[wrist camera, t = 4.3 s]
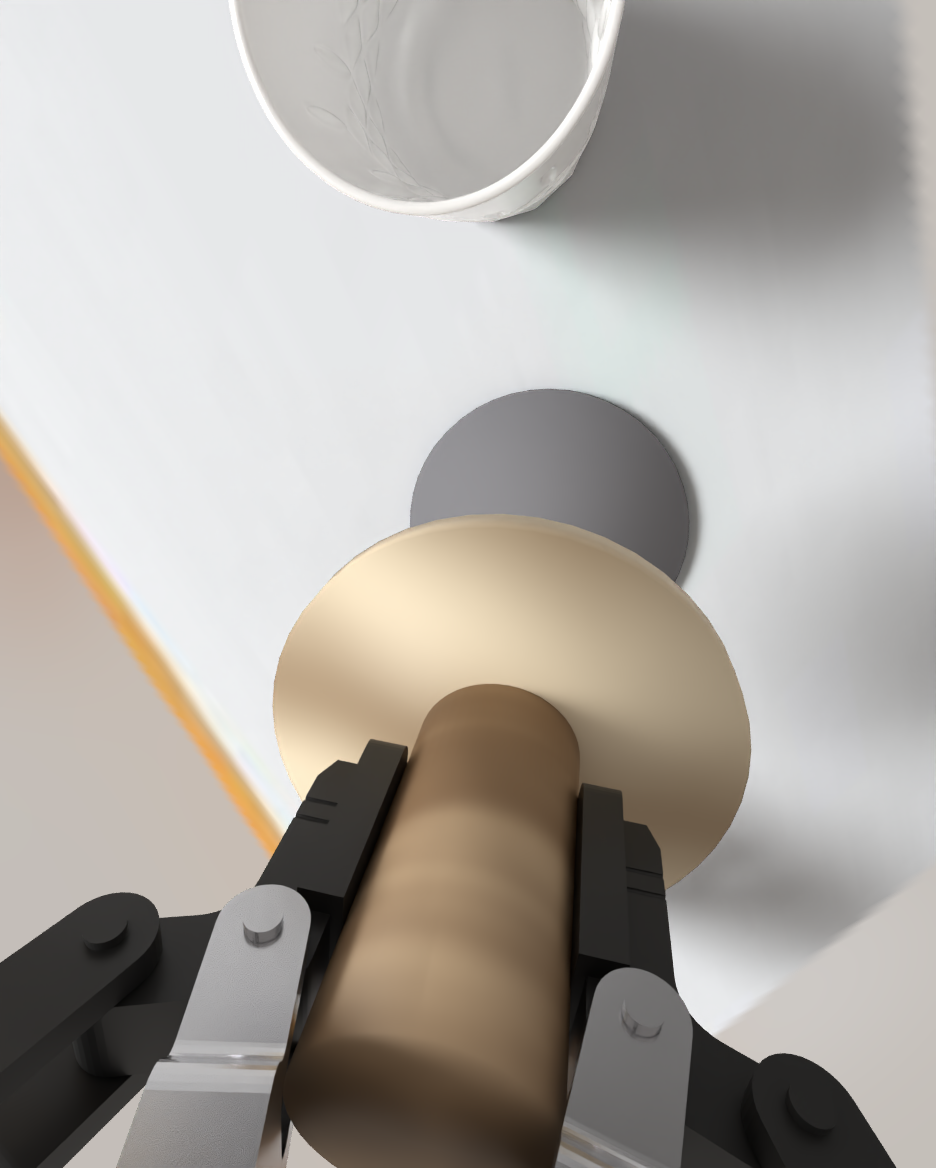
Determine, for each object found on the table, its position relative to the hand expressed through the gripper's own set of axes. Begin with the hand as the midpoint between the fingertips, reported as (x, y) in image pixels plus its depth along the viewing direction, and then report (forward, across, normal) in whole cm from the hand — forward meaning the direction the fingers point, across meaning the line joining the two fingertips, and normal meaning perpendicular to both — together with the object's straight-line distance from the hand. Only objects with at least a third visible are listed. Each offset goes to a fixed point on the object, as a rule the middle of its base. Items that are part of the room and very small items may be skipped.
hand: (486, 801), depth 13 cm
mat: (+16, 0, 0) cm, 16 cm away
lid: (+2, 0, 0) cm, 2 cm away
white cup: (+16, +4, -14) cm, 22 cm away
